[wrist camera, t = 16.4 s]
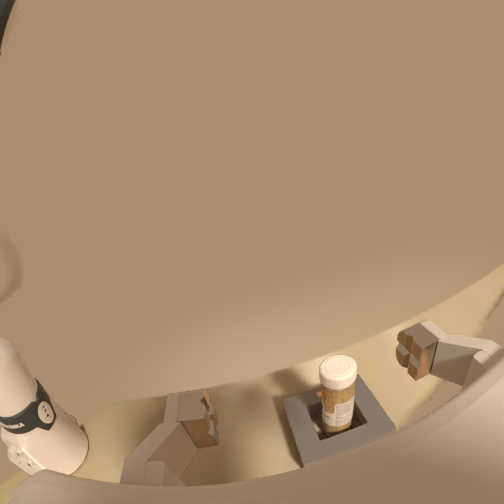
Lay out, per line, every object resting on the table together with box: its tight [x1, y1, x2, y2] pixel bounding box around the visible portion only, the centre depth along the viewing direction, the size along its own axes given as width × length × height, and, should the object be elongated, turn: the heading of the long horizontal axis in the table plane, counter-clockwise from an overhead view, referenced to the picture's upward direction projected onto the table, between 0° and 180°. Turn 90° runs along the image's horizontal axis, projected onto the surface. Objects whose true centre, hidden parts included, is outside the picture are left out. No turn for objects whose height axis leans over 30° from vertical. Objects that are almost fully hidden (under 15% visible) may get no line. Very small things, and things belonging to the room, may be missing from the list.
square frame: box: [282, 374, 396, 468], centre depth 32 cm, size 13×13×3 cm
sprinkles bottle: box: [319, 355, 357, 437], centre depth 30 cm, size 5×5×13 cm
